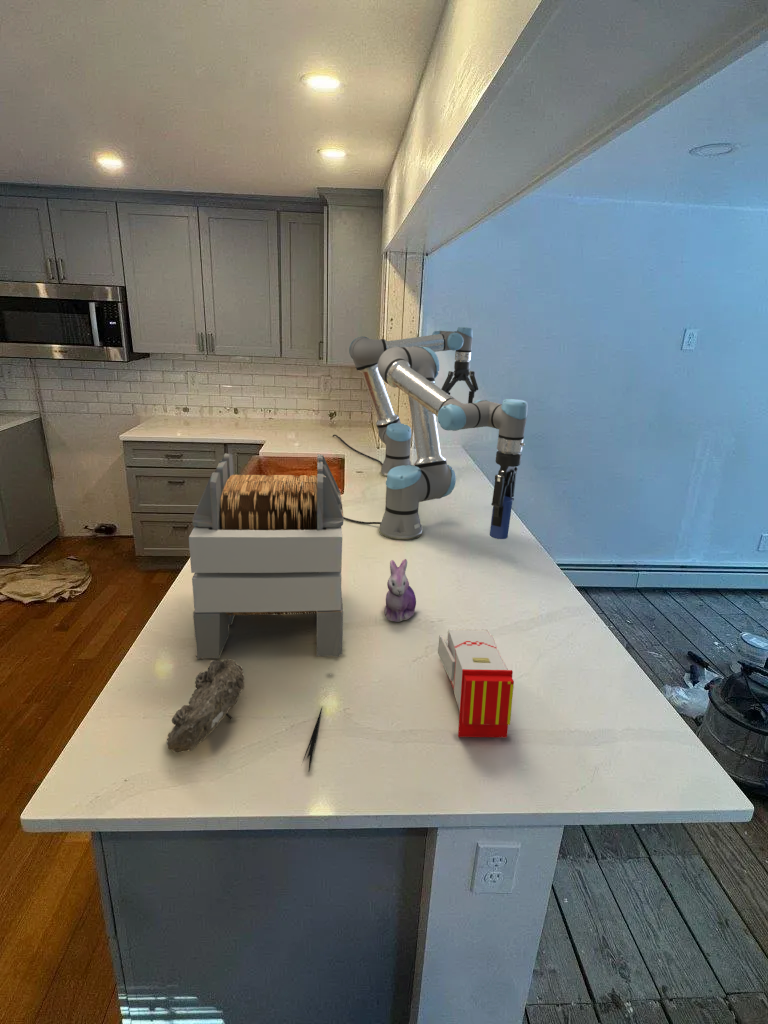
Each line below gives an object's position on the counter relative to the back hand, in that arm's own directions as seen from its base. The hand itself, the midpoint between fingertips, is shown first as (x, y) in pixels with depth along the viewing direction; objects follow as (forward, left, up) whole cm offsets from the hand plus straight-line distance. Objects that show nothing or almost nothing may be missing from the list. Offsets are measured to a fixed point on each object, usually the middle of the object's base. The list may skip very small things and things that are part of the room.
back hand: (458, 405), depth 280 cm
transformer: (+112, -127, -31) cm, 172 cm away
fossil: (+142, -148, -31) cm, 207 cm away
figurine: (+121, -97, -31) cm, 158 cm away
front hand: (+102, -50, -19) cm, 115 cm away
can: (+102, -50, -23) cm, 116 cm away
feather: (+151, -130, -31) cm, 201 cm away
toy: (+155, -98, -31) cm, 186 cm away
